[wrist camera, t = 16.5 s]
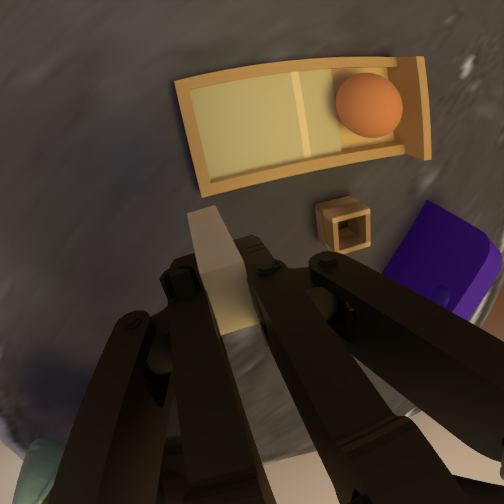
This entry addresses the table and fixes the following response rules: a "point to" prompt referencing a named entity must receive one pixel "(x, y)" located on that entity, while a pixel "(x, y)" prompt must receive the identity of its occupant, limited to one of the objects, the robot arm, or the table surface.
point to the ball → (369, 105)
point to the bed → (293, 119)
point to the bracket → (446, 261)
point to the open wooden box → (349, 236)
